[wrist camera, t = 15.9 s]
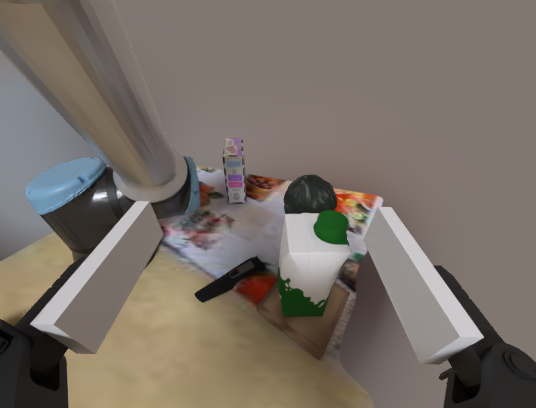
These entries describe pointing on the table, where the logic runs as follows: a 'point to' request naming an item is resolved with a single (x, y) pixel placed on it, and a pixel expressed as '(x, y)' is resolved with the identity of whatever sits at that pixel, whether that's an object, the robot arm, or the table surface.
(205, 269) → the table surface
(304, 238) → the milk carton
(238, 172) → the candy box
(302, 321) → the board
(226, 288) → the electric trimmer
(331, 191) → the squash
